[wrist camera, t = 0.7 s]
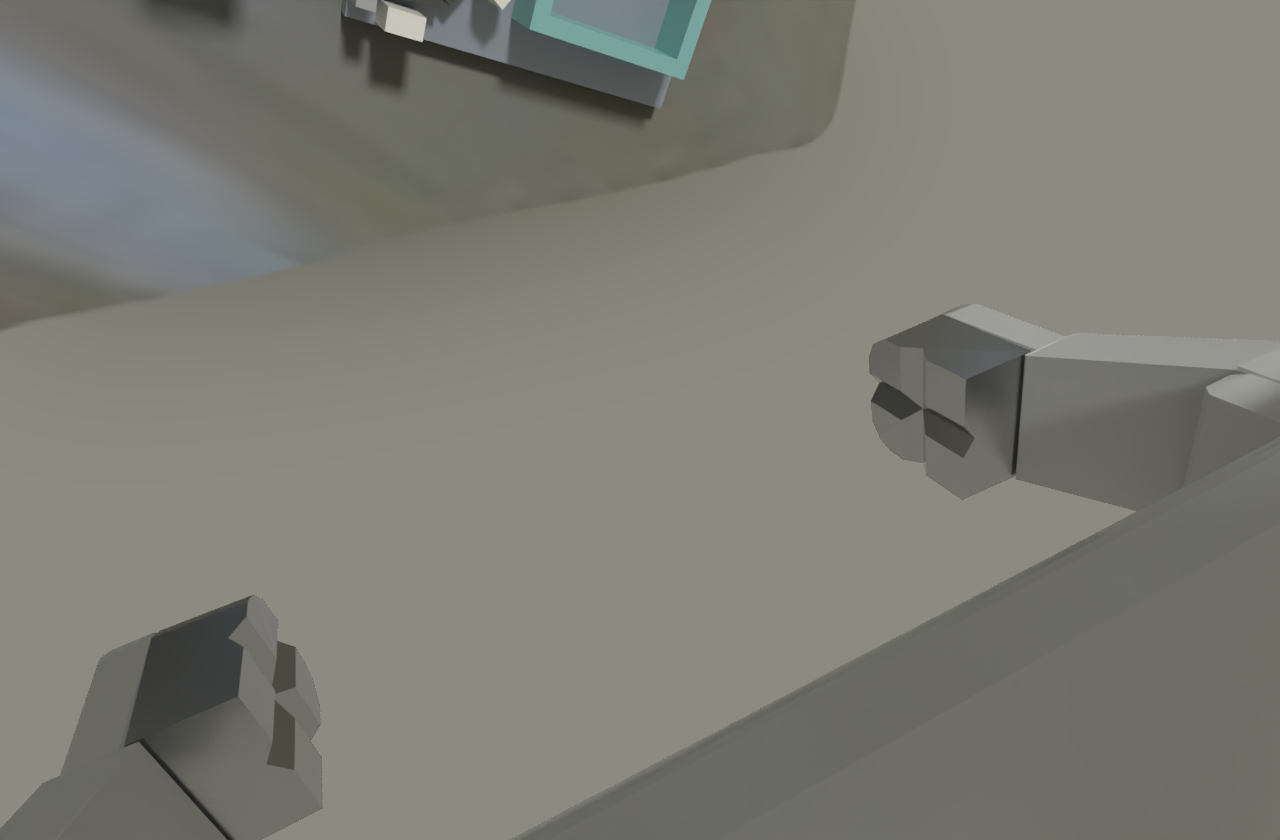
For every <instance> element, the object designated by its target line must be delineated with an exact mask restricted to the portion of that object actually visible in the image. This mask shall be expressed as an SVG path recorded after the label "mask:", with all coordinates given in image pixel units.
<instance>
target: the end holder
mask: <svg viewBox="0 0 1280 840" xmlns="http://www.w3.org/2000/svg"><path fill="white" fill-rule="evenodd" d="M553 2H554V0H515V2H514V7H513V11H512V15H511V18H512V19H514V20H515V21H517V22H518V23H520V24H522V25H523V26H525V27H526V28H528V29H530V30H533V31H536V32H539V33H542V34H545V35H548V36H551V37H554V38H557V39H560V40H563V41H566V42H569V43H572V44H575V45H578V46H581V47H584V48H587V49H591V50H594V51H597V52H600V53H603V54H606V55H609V56H612V57H615V58H618V59H621V60H624V61H627V62H630V63H633V64H636V65H639V66H642V67H645V68H648V69H651V70H654V71H657V72H660V73H663V74H667V75H670V76H673V77H676V78H679V79H682V80H684V78H685V75H686V72H687V69H688V66H689V63H690V61H691V58H692V55H693V52H694V49H695V46H696V43H697V40H698V37H699V35H700V32H701V29H702V26H703V23H704V20H705V17H706V14H707V11H708V9H709V6H710V3H711V0H670V1H669V4H668V7H667V10H666V14H665V17H664V20H663V23H662V26H661V29H660V32H659V35H658V38H657V42H656V45H655V48H653V47H650V46H647V45H644V44H641V43H639V42H636V41H633V40H630V39H627V38H624V37H621V36H619V35H616V34H613V33H610V32H607V31H604V30H601V29H599V28H596V27H593V26H590V25H587V24H584V23H581V22H579V21H576V20H573V19H570V18H567V17H564V16H561V15H559V14H556V13H553V12H551V10H552V6H553Z"/></svg>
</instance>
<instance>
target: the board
mask: <svg viewBox="0 0 1280 840" xmlns="http://www.w3.org/2000/svg"><path fill="white" fill-rule="evenodd" d="M669 1H670V0H554V2H553V6H552V10H551V12H553V13H556V14H559V15H561V16H564V17H567V18H570V19H573V20H576V21H579V22H581V23H584V24H587V25H590V26H593V27H596V28H599V29H601V30H604V31H607V32H610V33H613V34H616V35H619V36H621V37H624V38H627V39H630V40H633V41H636V42H639V43H641V44H644V45H647V46H650V47H653V48H655V45H656V42H657V38H658V35H659V32H660V29H661V26H662V23H663V20H664V17H665V14H666V10H667V7H668V4H669ZM514 2H515V0H455V1H454V2H453V4H452V5H451V6H450V5H448V4H447V3H445V2H444V1H443V0H442V1H441V7H440V9H438V8H435V7H432V6H429V5H426V4H423V3H420V2H417V1H414V0H343V3H342V11H341V12H342V14H343V15H344V16H346V17H349V18H353V19H356V20H359V21H363V22H366V23H370V24H373V25H376V26H380V27H381V28H382V29H383V30H384V31H385V32H389V33H392V34H396V35H399V36H403V37H406V38H409V39H413V40H416V41H420V42H423V39H424V40H427V41H431V42H434V43H438V44H441V45H444V46H448V47H451V48H455V49H458V50H461V51H465V52H468V53H472V54H475V55H478V56H482V57H485V58H489V59H492V60H495V61H499V62H502V63H506V64H509V65H512V66H516V67H519V68H523V69H526V70H529V71H533V72H536V73H540V74H543V75H546V76H550V77H553V78H557V79H560V80H563V81H567V82H570V83H574V84H577V85H580V86H584V87H587V88H591V89H594V90H598V91H601V92H604V93H608V94H611V95H615V96H618V97H621V98H625V99H628V100H632V101H635V102H638V103H642V104H645V105H649V106H652V107H655V108H659V109H661V107H662V104H663V101H664V98H665V95H666V92H667V89H668V86H669V83H670V80H671V77H672V76H670V75H667V74H663V73H660V72H657V71H654V70H651V69H648V68H645V67H642V66H639V65H636V64H633V63H630V62H627V61H624V60H621V59H618V58H615V57H612V56H609V55H606V54H603V53H600V52H597V51H594V50H591V49H587V48H584V47H581V46H578V45H575V44H572V43H569V42H566V41H563V40H560V39H557V38H554V37H551V36H548V35H545V34H542V33H539V32H536V31H533V30H530V29H528V28H526V27H525V26H523V25H522V24H520V23H518V22H517V21H515V20H514V19H512V18H511V15H512V11H513V7H514Z"/></svg>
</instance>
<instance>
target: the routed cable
mask: <svg viewBox="0 0 1280 840" xmlns="http://www.w3.org/2000/svg"><path fill="white" fill-rule="evenodd" d="M414 1H417V2H420V3H423V4H426V5H429V6H432V7H435V8H438V9H440V7H441V1H442V0H414ZM443 1H444V2H445V3H447V4H448V5H450V6H451V5H452V4H453V2H454V1H455V0H443Z"/></svg>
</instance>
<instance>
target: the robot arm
mask: <svg viewBox="0 0 1280 840" xmlns="http://www.w3.org/2000/svg"><path fill="white" fill-rule="evenodd" d="M869 371H870V374H871V375H872V376H873V377H874V378H875V379H876V380H877V381H878V382H879V385H878V387H877V389H876V391H875V393H874V395H873V398H872V400H871V408H872V419H873V423H874V426H875V428H876V430H877V432H878V434H879V437H880V439H881V440H882V441H883V442H884V444H885V445H886V446H887V447H888V448H889V449H890V451H892V452H893V453H895V454H896V455H897V456H899V457H900V458H902V459H903V460H909V461H915V462H921V463H924V468H925V473H926V476H928V477H929V478H931V479H932V480H934V481H935V482H937V483H938V484H940V485H941V486H943V487H944V488H946V489H947V490H948V491H950V492H951V493H953V494H954V495H956V496H957V497H959V498H960V499H962V500H963V499H965V498H967V497H970V496H972V495H974V494H976V493H979V492H981V491H983V490H985V489H987V488H990V487H992V486H994V485H997V484H999V483H1001V482H1003V481H1006V480H1008V479H1010V478H1012V477H1015V476H1016V479H1017V480H1021V481H1025V482H1029V483H1032V484H1036V485H1040V486H1044V487H1048V488H1051V489H1055V490H1059V491H1062V492H1066V493H1070V494H1074V495H1078V496H1081V497H1085V498H1089V499H1093V500H1097V501H1100V502H1104V503H1108V504H1112V505H1115V506H1119V507H1123V508H1127V509H1131V510H1135V511H1137V512H1135V513H1133V514H1131V515H1129V516H1128V517H1126V518H1124V519H1122V520H1120V521H1118V522H1116V523H1114V524H1112V525H1110V526H1109V527H1107V528H1105V529H1103V530H1101V531H1099V532H1097V533H1095V534H1093V535H1091V536H1089V537H1088V538H1086V539H1084V540H1082V541H1080V542H1078V543H1076V544H1074V545H1072V546H1070V547H1068V548H1067V549H1065V550H1063V551H1061V552H1059V553H1057V554H1055V555H1053V556H1051V557H1049V558H1047V559H1045V560H1044V561H1042V562H1039V563H1038V564H1036V565H1034V566H1032V567H1030V568H1028V569H1026V570H1024V571H1022V572H1020V573H1018V574H1017V575H1015V576H1013V577H1011V578H1009V579H1007V580H1005V581H1003V582H1001V583H999V584H997V585H995V586H993V587H991V588H990V589H988V590H986V591H984V592H982V593H980V594H978V595H976V596H974V597H972V598H971V599H969V600H967V601H965V602H963V603H961V604H959V605H957V606H955V607H953V608H951V609H949V610H947V611H945V612H944V613H942V614H940V615H938V616H936V617H934V618H932V619H930V620H929V621H926V622H924V623H922V624H920V625H919V626H917V627H915V628H913V629H911V630H909V631H907V632H905V633H903V634H901V635H899V636H898V637H896V638H894V639H892V640H890V641H888V642H886V643H884V644H882V645H880V646H878V647H877V648H875V649H873V650H871V651H869V652H867V653H865V654H863V655H861V656H859V657H858V658H856V659H854V660H852V661H850V662H848V663H846V664H844V665H842V666H840V667H838V668H836V669H835V670H833V671H831V672H829V673H827V674H825V675H823V676H821V677H819V678H817V679H816V680H813V681H812V682H810V683H808V684H806V685H804V686H802V687H800V688H798V689H796V690H795V691H793V692H791V693H789V694H787V695H785V696H783V697H781V698H779V699H777V700H775V701H774V702H772V703H770V704H768V705H766V706H764V707H762V708H760V709H758V710H756V711H754V712H752V713H751V714H749V715H747V716H745V717H743V718H741V719H739V720H737V721H736V722H733V723H732V724H730V725H728V726H726V727H724V728H722V729H720V730H718V731H716V732H714V733H712V734H710V735H709V736H707V737H705V738H703V739H701V740H699V741H697V742H695V743H693V744H692V745H690V746H688V747H686V748H684V749H682V750H680V751H678V752H676V753H674V754H672V755H670V756H668V757H667V758H665V759H663V760H661V761H659V762H657V763H655V764H653V765H651V766H649V767H648V768H646V769H644V770H642V771H640V772H638V773H636V774H634V775H632V776H631V777H628V778H627V779H625V780H623V781H621V782H619V783H617V784H615V785H613V786H611V787H609V788H607V789H605V790H604V791H602V792H600V793H598V794H596V795H594V796H592V797H590V798H588V799H586V800H584V801H583V802H581V803H579V804H577V805H575V806H573V807H571V808H569V809H567V810H565V811H563V812H562V813H560V814H558V815H556V816H554V817H552V818H550V819H548V820H546V821H544V822H542V823H541V824H539V825H537V826H535V827H533V828H531V829H529V830H527V831H525V832H523V833H522V834H520V835H518V836H516V837H514V838H512V839H510V840H1280V341H1260V340H1233V339H1209V338H1183V337H1182V338H1181V337H1158V336H1157V337H1156V336H1133V335H1106V334H1081V333H1074V334H1072V335H1070V336H1067V337H1064V336H1062V335H1059V334H1056V333H1053V332H1051V331H1048V330H1045V329H1042V328H1040V327H1037V326H1035V325H1032V324H1029V323H1027V322H1024V321H1021V320H1019V319H1016V318H1013V317H1011V316H1008V315H1005V314H1003V313H1000V312H997V311H995V310H992V309H989V308H986V307H984V306H981V305H978V304H963V305H960V306H958V307H956V308H954V309H951V310H949V311H947V312H945V313H943V314H940V315H938V316H936V317H934V318H933V319H930V320H928V321H926V322H923V323H921V324H919V325H916V326H914V327H912V328H910V329H907V330H905V331H903V332H900V333H898V334H896V335H893V336H891V337H889V338H887V339H884V340H882V341H879V342H877V343H875V344H873V346H872V349H871V352H870V355H869ZM277 628H278V620H277V618H276V617H275V615H274V614H273V613H272V611H271V610H270V608H269V607H268V606H267V604H266V603H265V601H264V600H263V599H262V598H260V597H258V596H255V595H251V596H249V597H246V598H244V599H241V600H238V601H236V602H233V603H230V604H228V605H225V606H223V607H220V608H217V609H215V610H212V611H210V612H207V613H204V614H202V615H199V616H197V617H194V618H191V619H189V620H186V621H184V622H181V623H179V624H176V625H173V626H171V627H168V628H166V629H163V630H160V631H159V632H158V633H152V634H149V635H147V636H145V637H142V638H140V639H137V640H135V641H132V642H130V643H128V644H126V645H123V646H120V647H118V648H116V649H113V650H111V651H109V652H108V653H107V654H105V655H104V656H103V657H101V658H100V660H99V662H98V665H97V668H96V671H95V674H94V677H93V680H92V683H91V686H90V688H89V691H88V694H87V697H86V700H85V703H84V706H83V709H82V712H81V715H80V718H79V721H78V724H77V727H76V730H75V733H74V736H73V739H72V742H71V745H70V748H69V750H68V753H67V756H66V760H65V763H64V765H63V768H62V771H61V774H60V776H58V777H56V778H53V779H51V780H49V781H47V782H44V783H42V784H41V786H40V787H39V788H38V789H37V790H36V791H35V792H34V793H33V794H32V795H31V796H30V797H29V798H28V800H27V801H26V802H25V803H24V804H23V805H22V806H21V807H20V808H19V809H18V810H17V811H16V812H15V813H14V814H13V816H12V817H11V818H10V819H9V820H8V821H7V822H6V823H5V824H4V825H3V826H2V827H1V828H0V840H262V839H264V838H265V837H267V836H270V835H272V834H274V833H275V832H277V831H279V830H281V829H283V828H285V827H287V826H289V825H291V824H293V823H295V822H297V821H299V820H301V819H303V818H305V817H307V816H308V815H311V814H312V813H314V812H316V811H318V810H320V809H322V808H323V805H322V757H321V755H320V754H319V752H318V751H317V750H316V748H315V747H314V745H313V744H312V742H311V739H312V738H313V736H314V735H315V733H316V731H317V730H318V728H319V726H320V724H321V723H320V704H319V700H318V696H317V692H316V688H315V685H314V681H313V678H312V676H311V674H310V672H309V670H308V668H307V665H306V663H305V661H304V660H303V658H302V656H301V655H300V653H299V652H298V650H297V649H296V647H294V646H291V645H288V644H285V643H282V642H279V641H277Z"/></svg>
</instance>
